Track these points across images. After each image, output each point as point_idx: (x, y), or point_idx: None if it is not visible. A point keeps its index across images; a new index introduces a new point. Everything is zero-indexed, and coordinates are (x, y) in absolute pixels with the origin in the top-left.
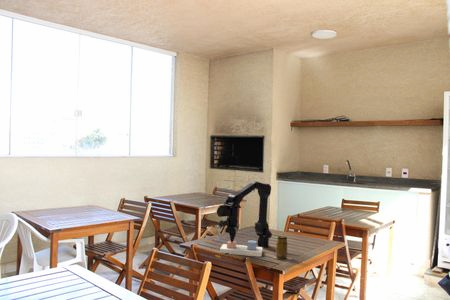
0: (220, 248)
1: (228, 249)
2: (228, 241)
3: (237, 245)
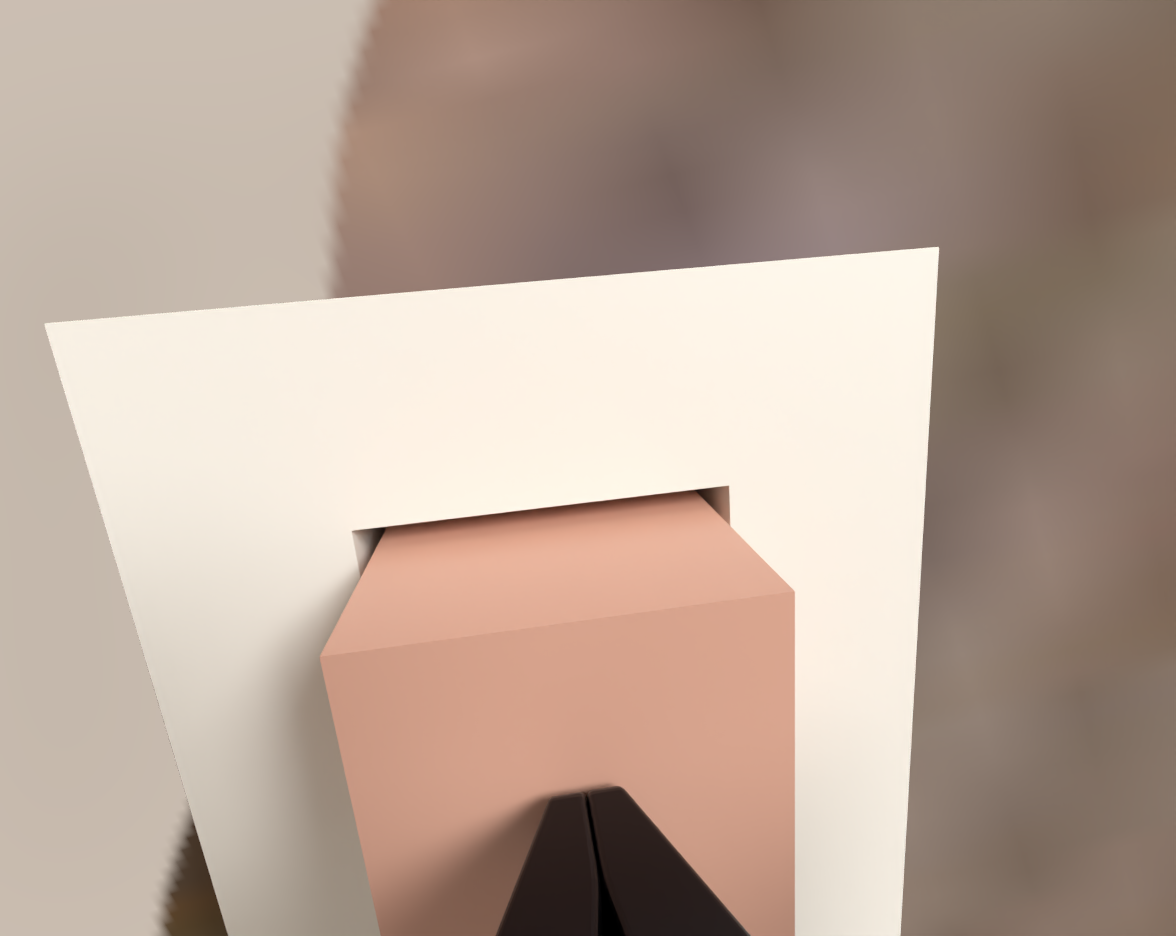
0: (100, 336)
1: (151, 672)
2: (646, 644)
3: (864, 775)
